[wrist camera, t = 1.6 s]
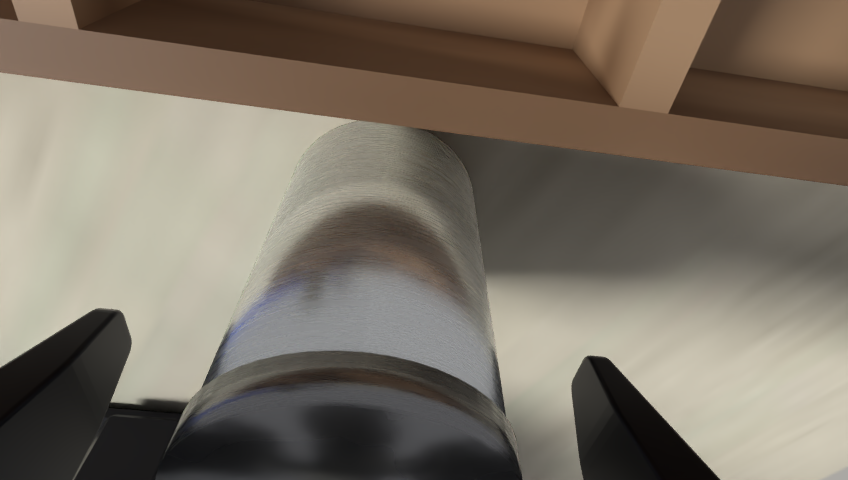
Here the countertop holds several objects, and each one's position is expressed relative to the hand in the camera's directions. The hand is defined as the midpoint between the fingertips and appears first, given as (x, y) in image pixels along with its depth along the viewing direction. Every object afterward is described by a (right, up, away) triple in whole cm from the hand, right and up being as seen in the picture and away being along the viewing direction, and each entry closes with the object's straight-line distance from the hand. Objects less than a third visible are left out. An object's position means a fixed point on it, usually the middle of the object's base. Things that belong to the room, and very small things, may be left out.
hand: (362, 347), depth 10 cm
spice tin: (0, +3, +4) cm, 5 cm away
